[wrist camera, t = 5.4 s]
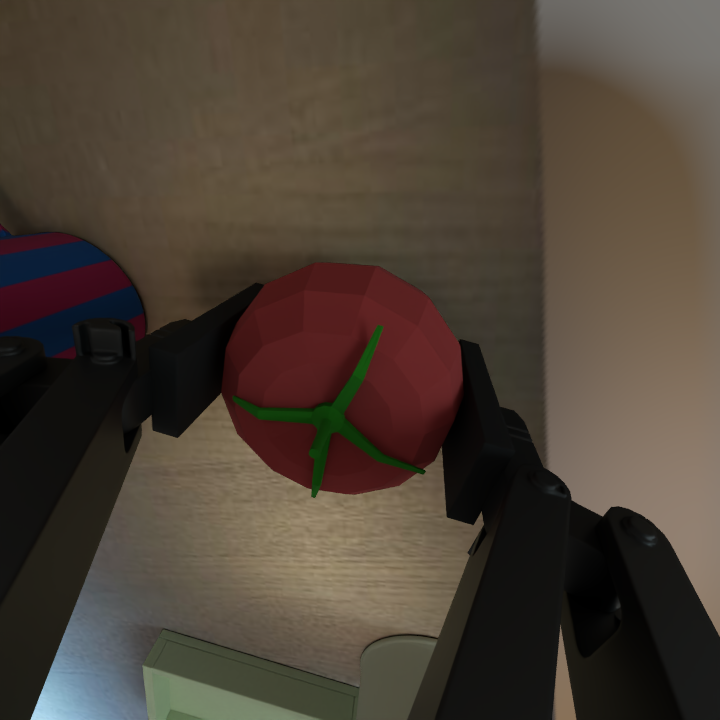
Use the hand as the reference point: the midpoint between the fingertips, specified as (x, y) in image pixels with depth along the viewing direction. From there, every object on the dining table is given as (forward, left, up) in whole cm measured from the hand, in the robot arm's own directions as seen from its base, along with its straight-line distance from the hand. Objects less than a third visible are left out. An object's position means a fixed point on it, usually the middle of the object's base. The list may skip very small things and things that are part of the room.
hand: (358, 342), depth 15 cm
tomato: (0, 0, -1) cm, 1 cm away
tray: (+1, +38, -1) cm, 38 cm away
